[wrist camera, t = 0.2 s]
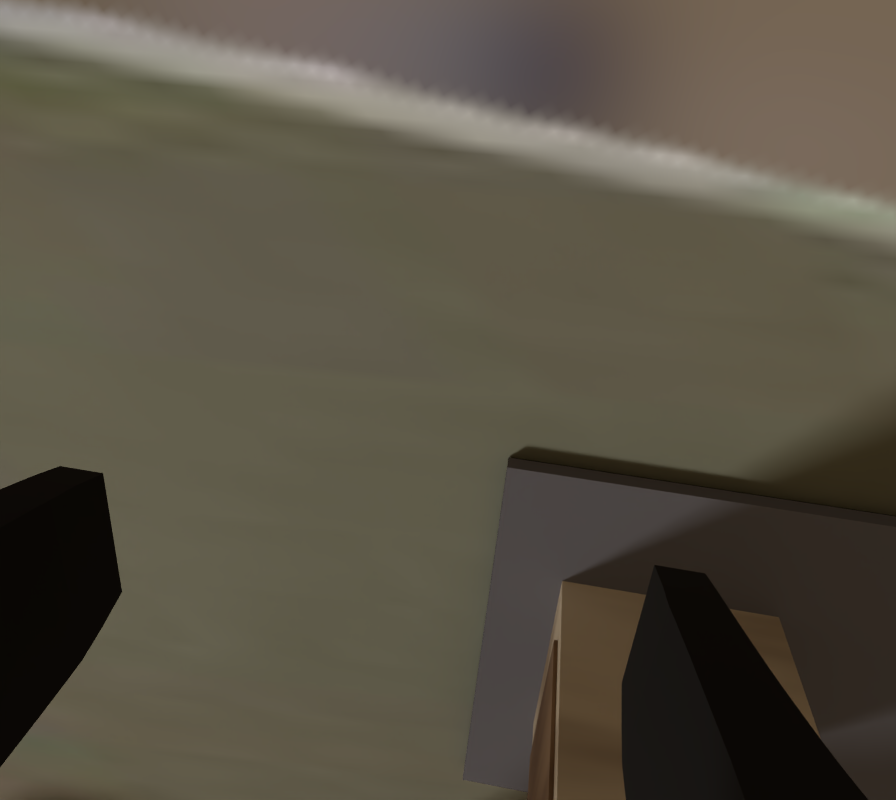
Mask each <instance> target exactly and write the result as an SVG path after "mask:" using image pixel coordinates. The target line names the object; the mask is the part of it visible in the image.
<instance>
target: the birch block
mask: <svg viewBox="0 0 896 800" xmlns="http://www.w3.org/2000/svg"><path fill="white" fill-rule="evenodd" d="M645 597H646V595H644V594H638V593H632V592H626V591H620V590H614V589H608V588H602V587H596V586H590V585H584V584H578V583H572V582H566V581H562V584H561V589H560V594H559V599H558V604H557V609H556V614H555V619H554V624H553V629H552V634H551V639H550V644H549V649H548V654H547V659H546V664H545V668H544V673H543V678H542V683H541V688H540V693H539V698H538V703H537V708H536V713H535V718H534V723H533V740H532V749H531V754H530V765H529V782H528V798H527V800H626V796H625V788H624V778H623V769H622V728H621V723H622V680H623V676H624V673H625V669H626V665H627V662H628V658H629V655H630V651H631V647H632V644H633V640H634V637H635V633H636V629H637V626H638V622H639V619H640V615H641V611H642V608H643V604H644V600H645ZM730 610H731V612H732V613H733V615H734V616H735V618H736V619H737V621H738V622H739V624H740V625H741V627H742V628H743V630H744V631H745V633H746V634H747V636H748V637H749V639H750V640H751V642H752V643H753V645H754V646H755V648H756V649H757V651H758V652H759V654H760V655H761V657H762V658H763V659H764V661H765V662H766V664H767V665H768V667H769V668H770V670H771V671H772V672H773V674H774V675H775V677H776V678H777V680H778V681H779V682H780V684H781V685H782V687H783V688H784V690H785V691H786V692H787V694H788V695H789V696H790V698H791V699H792V700H793V702H794V703H795V705H796V706H797V707H798V709H799V710H800V711H801V713H802V714H803V716H804V717H805V718H806V720H807V721H808V722H809V724H810V725H811V727H812V728H813V729H814V731H815V732H816V733H817V735H818V736H819V738H820V735H819V732H818V730H817V727H816V724H815V721H814V718H813V715H812V712H811V709H810V706H809V703H808V700H807V698H806V695H805V692H804V689H803V686H802V683H801V680H800V677H799V674H798V671H797V668H796V665H795V663H794V660H793V657H792V654H791V651H790V648H789V645H788V642H787V639H786V636H785V633H784V631H783V628H782V625H781V622H780V619H779V617H775V616H769V615H763V614H757V613H751V612H745V611H739V610H733V609H730ZM820 739H821V738H820Z"/></svg>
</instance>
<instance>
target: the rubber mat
mask: <svg viewBox="0 0 896 800" xmlns="http://www.w3.org/2000/svg"><path fill="white" fill-rule="evenodd" d="M654 565H658V566H664V567H670V568H676V569H682V570H689V571H695V572H701V573H705V574H706V575H707V576H708V578H709V579H710V581H711V582H712V584H713V585H714V586H715V588H716V589H717V591H718V592H719V594H720V595H721V597H722V598H723V600H724V601H725V603H726V604H727V606H728V607H729V609H733V610H739V611H745V612H751V613H757V614H763V615H769V616H775V617H779V619H780V622H781V625H782V628H783V631H784V633H785V636H786V639H787V642H788V645H789V648H790V651H791V654H792V657H793V660H794V663H795V665H796V668H797V671H798V674H799V677H800V680H801V683H802V686H803V689H804V692H805V695H806V698H807V700H808V703H809V706H810V709H811V712H812V715H813V718H814V721H815V724H816V727H817V730H818V732H819V735H820V738H821V740H822V741H823V743H824V744H825V745H826V747H827V748H828V749H829V751H830V752H831V753H832V755H833V756H834V757H835V758H836V760H837V761H838V762H839V764H840V765H841V766H842V768H843V769H844V770H845V771H846V773H847V774H848V775H849V776H850V778H851V779H852V780H853V781H854V783H855V784H856V785H857V786H858V788H859V789H860V790H861V791H862V793H863V794H864V795H865V796H866V798H867V799H868V800H896V516H890V515H883V514H876V513H870V512H863V511H857V510H850V509H844V508H837V507H830V506H824V505H817V504H811V503H804V502H798V501H791V500H784V499H778V498H771V497H765V496H758V495H752V494H745V493H738V492H732V491H725V490H719V489H712V488H706V487H699V486H692V485H686V484H679V483H673V482H666V481H660V480H653V479H646V478H640V477H633V476H627V475H620V474H614V473H607V472H600V471H594V470H587V469H581V468H574V467H568V466H561V465H555V464H548V463H541V462H535V461H528V460H522V459H515V458H509V459H508V466H507V472H506V479H505V486H504V494H503V501H502V508H501V515H500V522H499V529H498V536H497V543H496V550H495V557H494V564H493V571H492V578H491V585H490V592H489V599H488V606H487V613H486V620H485V627H484V634H483V641H482V648H481V655H480V662H479V669H478V676H477V683H476V690H475V697H474V704H473V711H472V718H471V725H470V732H469V739H468V746H467V753H466V760H465V767H464V774H463V780H468V781H473V782H478V783H483V784H488V785H493V786H499V787H504V788H509V789H514V790H519V791H524V792H528V782H529V765H530V754H531V749H532V740H533V723H534V718H535V713H536V708H537V703H538V698H539V693H540V688H541V683H542V678H543V673H544V668H545V664H546V659H547V654H548V649H549V644H550V639H551V634H552V629H553V624H554V619H555V614H556V609H557V604H558V599H559V594H560V589H561V584H562V581H566V582H572V583H578V584H584V585H590V586H596V587H602V588H608V589H614V590H620V591H626V592H632V593H638V594H644V595H646V593H647V590H648V586H649V582H650V579H651V575H652V572H653V568H654Z"/></svg>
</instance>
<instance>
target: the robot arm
mask: <svg viewBox="0 0 896 800" xmlns="http://www.w3.org/2000/svg"><path fill="white" fill-rule="evenodd" d="M121 593H122V589H121V583H120V577H119V571H118V564H117V558H116V552H115V546H114V539H113V533H112V527H111V521H110V514H109V508H108V502H107V496H106V489H105V483H104V477H103V473H98V472H92V471H86V470H80V469H74V468H68V467H62V466H60V467H57V468H54V469H51V470H48V471H45V472H43V473H40V474H37V475H35V476H32V477H29V478H27V479H24V480H22V481H20V482H17V483H15V484H12V485H10V486H7V487H5V488H3V489H0V767H1V765H2V764H3V763H4V762H5V760H6V759H7V758H8V756H9V755H10V754H11V753H12V751H13V750H14V749H15V747H16V746H17V745H18V744H19V742H20V741H21V740H22V738H23V737H24V736H25V735H26V733H27V732H28V731H29V729H30V728H31V727H32V726H33V724H34V723H35V722H36V720H37V719H38V718H39V717H40V715H41V714H42V713H43V711H44V710H45V709H46V707H47V706H48V705H49V703H50V702H51V701H52V699H53V698H54V697H55V696H56V694H57V693H58V692H59V690H60V689H61V688H62V686H63V685H64V684H65V682H66V681H67V680H68V678H69V677H70V676H71V674H72V673H73V672H74V670H75V669H76V668H77V666H78V665H79V664H80V662H81V661H82V660H83V658H84V656H85V655H86V653H87V651H88V650H89V648H90V646H91V645H92V643H93V641H94V640H95V638H96V637H97V635H98V633H99V632H100V630H101V628H102V627H103V625H104V623H105V621H106V619H107V618H108V616H109V614H110V612H111V610H112V609H113V607H114V605H115V603H116V602H117V600H118V598H119V596H120V594H121ZM621 728H622V769H623V778H624V788H625V796H626V800H868V799H867V798H866V796H865V795H864V794H863V793H862V791H861V790H860V789H859V788H858V786H857V785H856V784H855V783H854V781H853V780H852V779H851V778H850V776H849V775H848V774H847V773H846V771H845V770H844V769H843V768H842V766H841V765H840V764H839V762H838V761H837V760H836V758H835V757H834V756H833V755H832V753H831V752H830V751H829V749H828V748H827V747H826V745H825V744H824V743H823V741H822V740H821V739H820V738H819V736H818V735H817V733H816V732H815V731H814V729H813V728H812V727H811V725H810V724H809V722H808V721H807V720H806V718H805V717H804V716H803V714H802V713H801V711H800V710H799V709H798V707H797V706H796V705H795V703H794V702H793V700H792V699H791V698H790V696H789V695H788V694H787V692H786V691H785V690H784V688H783V687H782V685H781V684H780V682H779V681H778V680H777V678H776V677H775V675H774V674H773V672H772V671H771V670H770V668H769V667H768V665H767V664H766V662H765V661H764V659H763V658H762V657H761V655H760V654H759V652H758V651H757V649H756V648H755V646H754V645H753V643H752V642H751V640H750V639H749V637H748V636H747V634H746V633H745V631H744V630H743V628H742V627H741V625H740V624H739V622H738V621H737V619H736V618H735V616H734V615H733V613H732V612H731V610H730V609H729V607H728V606H727V604H726V603H725V601H724V600H723V598H722V597H721V595H720V594H719V592H718V591H717V589H716V588H715V586H714V585H713V584H712V582H711V581H710V579H709V578H708V576H707V575H706V574H705V573H701V572H695V571H689V570H682V569H676V568H670V567H664V566H658V565H654V568H653V572H652V575H651V579H650V582H649V586H648V590H647V593H646V597H645V600H644V604H643V608H642V611H641V615H640V619H639V622H638V626H637V629H636V633H635V637H634V640H633V644H632V647H631V651H630V655H629V658H628V662H627V665H626V669H625V673H624V676H623V680H622V723H621Z"/></svg>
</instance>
